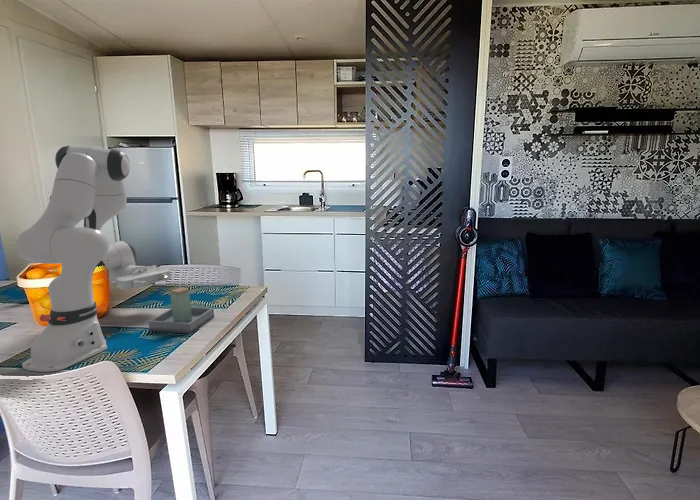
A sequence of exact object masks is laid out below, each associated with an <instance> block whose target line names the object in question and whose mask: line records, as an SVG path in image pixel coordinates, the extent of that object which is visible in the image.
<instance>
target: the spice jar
mask: <svg viewBox="0 0 700 500" xmlns="http://www.w3.org/2000/svg"><path fill="white" fill-rule="evenodd" d="M190 293H191V292H190V291H189V289H188V288H185V287H179V288H178V287H177V288H174V289H170V293H169V294H170V295H169V296H170V303H171V308H172V314H173V322H181V323H186V322H188V321H191V320H192V313H191V307H192V305H191V295H190Z"/></svg>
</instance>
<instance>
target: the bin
mask: <svg viewBox="0 0 700 500" xmlns="http://www.w3.org/2000/svg"><path fill="white" fill-rule="evenodd" d="M191 313H192V320H191V321H188V322H186V323H181V322H173V314H172V307H171V308H169V309H167V310H166V311H164V312H163V313H160V314H159V315H158V316H157V315H156V316H155V317H153V318H152V319H149V320H148V322H147V323H148V331H150V332H163V333H179V334H192V333H194V332H195V331H196V330H198V329H199V328H200V327H202V326H204V325H205V324H206V323H209V322H210V320H212V319H214V317H215V312H214V307H201V306H200V307H199V306H191Z"/></svg>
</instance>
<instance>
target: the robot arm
mask: <svg viewBox="0 0 700 500" xmlns="http://www.w3.org/2000/svg"><path fill="white" fill-rule="evenodd" d="M54 161H55V166H56V168H57V171H56V173H55V177H54V180H53V187H52V190H51V194H50V198H49V202H48V205H47V207H46V208H45V210H44V212H43V214H42V215H41V216H40V217H39V219H37V221H36V222H35V223H34V224H32V226H31V227H29V228H27V229H26V230H24V231H22V232H21V233H20V234H19V235H18V237H17V238H16V244H15V247H16V252H17V254H18V255H19V257H20V258H22V259H23V260H25V261H28V262H32V263H37V264H61V273H60V275H58V276H57V277H55V278H54V279H52V280H51V282H50V283H49V284H48V285H49V287H48V289H49V290H48V291H49V300H50V305H51V306H50V307H51V309H50V312H49V314H44V313H43V314H41V315H40V316H39V321H40V322H47V325H46V326H45V327H44V329H43V330H42V331H41V333H40V334H38V336H37V337H36V339H35V340H34V341H33V342H32V343H31V346H30V357H29V358H28V359H27V360H25V361H23V362H21V368H22V369H23V370H26V371H31V372H39V373H40V372H42V373H43V372H45V373H49V372H57V371H62V370H65V369H67V368H69V367H71V366H73V365H76V364H78V363H80V362H81V361H84V360H86V359H89V358H90V357H93V356H95V355H97V354H99V353H102V352H104V351H106V350H108V345H107V339H106V338H105V337H104V335H103V332H102V328H101V325H100V322H99V320H98V315H97V314H98V306H97V302H96V301H95V299H94V290H93V277H94V274H93V272H94V270H95V268H96V267H97V266H98V267H99V266H102V265H103V266H106V268H107V270H108V269H109V279H108V281H110V284H111V285H113V286H115V288H117V289H119V290H122V291H126V290H130V289H140V288H144V287H146V286H147V285H150V284H154V283H159V282H163V281H164V282H169V280H171V279H172V272H171V270H170V269H169V268H165V267H161V266H157V265H155V264H153V265H151V264H150V265H137V260H138V258H137V257H138V255H137V252H136V250H135V248H134V247H133V246H132V245H131V244H130V243H128V241H125V240H119V241H116V242H115V241H114V242H112V243H110V241H109V240H110V239H109V238H108V237H107V235H106V233H105V232H103V231H102V228H103V226H104V225H105V224H106V223H107V222H108V221H110V220H111V219H112V218H114V217H116V216H118V215H119V214H121V212H123V211H124V209H125V208H126V206H127V201H128V200H127V199H128V198H127V197H128V196H127V190H126V184H125V179H126V178H127V176H128V175H129V173H130V166H131V165H130V160H129V157H128V156H127V155H126V154H125V152H123V151H122V150H119V149H118V150H117V149H115V148H113V149H110V148H103V147H96V146H92V145H90V146H89V145H85V146H84V145H83V146H82V145H81V146H80V145H79V146H76V145H75V146H74V145H66V146H62V147H60V148H59V149H57V152H56V154H55V160H54ZM81 221H83V227H82V226H81V227H78V226H77V227H76V225H78V223H80V222H81ZM105 258H106V259H107V260H108V262H107V260H106V259H105Z"/></svg>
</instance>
